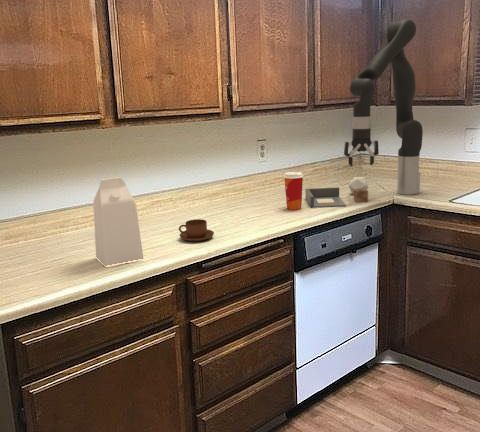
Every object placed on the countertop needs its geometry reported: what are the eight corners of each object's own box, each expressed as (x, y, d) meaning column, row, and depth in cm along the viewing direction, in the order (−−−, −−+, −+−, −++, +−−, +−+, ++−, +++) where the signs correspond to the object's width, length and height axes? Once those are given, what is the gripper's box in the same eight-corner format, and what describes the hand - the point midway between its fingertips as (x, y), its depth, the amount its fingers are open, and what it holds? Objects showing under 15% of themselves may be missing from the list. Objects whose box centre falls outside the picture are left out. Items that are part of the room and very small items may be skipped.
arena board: (338, 197, 245) (338, 187, 244) (346, 206, 228) (346, 195, 227) (305, 198, 245) (305, 188, 244) (310, 207, 228) (310, 197, 227)
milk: (132, 251, 179) (125, 173, 173) (143, 260, 169) (136, 178, 163) (96, 258, 174) (87, 178, 167) (105, 268, 164) (96, 183, 157)
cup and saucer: (183, 245, 183) (182, 228, 182) (177, 236, 195) (176, 220, 193) (217, 241, 187) (216, 224, 185) (209, 232, 198) (208, 216, 196)
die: (357, 198, 244) (370, 181, 243) (342, 187, 248) (355, 170, 246) (361, 201, 252) (374, 184, 250) (346, 190, 255) (359, 174, 254)
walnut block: (365, 199, 239) (365, 188, 238) (367, 202, 234) (367, 190, 233) (353, 200, 239) (353, 188, 238) (356, 202, 234) (356, 191, 233)
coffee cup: (289, 205, 234) (288, 171, 230) (307, 207, 229) (306, 172, 226) (280, 209, 227) (279, 174, 223) (298, 211, 222) (298, 175, 219)
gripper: (376, 125, 232) (375, 163, 236) (343, 127, 233) (342, 164, 236) (380, 127, 225) (379, 166, 229) (346, 128, 225) (346, 167, 229)
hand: (361, 165), depth 233 cm, fingers open, 8 cm apart
